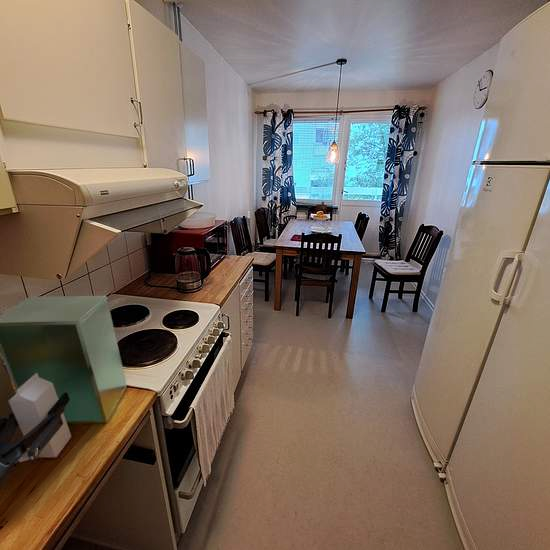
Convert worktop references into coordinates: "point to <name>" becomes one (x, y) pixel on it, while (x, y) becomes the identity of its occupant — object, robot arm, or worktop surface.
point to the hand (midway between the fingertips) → (53, 397)
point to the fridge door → (7, 399)
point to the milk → (39, 412)
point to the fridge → (66, 352)
